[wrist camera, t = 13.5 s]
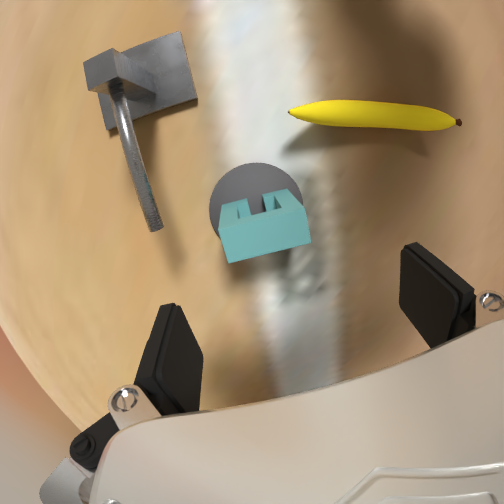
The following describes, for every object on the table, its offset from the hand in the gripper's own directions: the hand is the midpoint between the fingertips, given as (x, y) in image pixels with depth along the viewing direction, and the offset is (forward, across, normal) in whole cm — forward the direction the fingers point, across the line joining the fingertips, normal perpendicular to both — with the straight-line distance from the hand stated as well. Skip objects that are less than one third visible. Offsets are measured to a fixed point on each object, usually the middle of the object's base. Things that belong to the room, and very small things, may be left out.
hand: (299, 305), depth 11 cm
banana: (+21, -13, -6) cm, 26 cm away
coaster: (+20, +1, +2) cm, 21 cm away
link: (+20, 0, +2) cm, 20 cm away
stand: (+21, +9, -10) cm, 25 cm away
